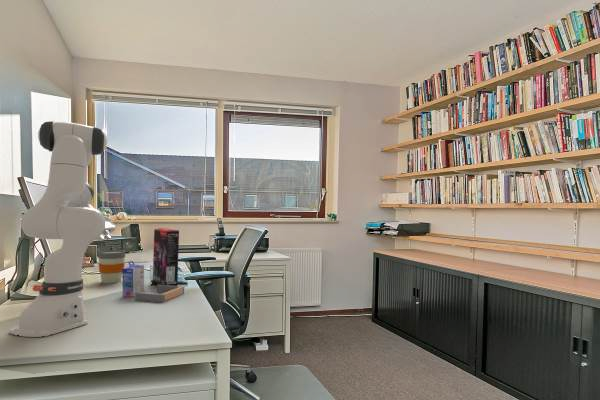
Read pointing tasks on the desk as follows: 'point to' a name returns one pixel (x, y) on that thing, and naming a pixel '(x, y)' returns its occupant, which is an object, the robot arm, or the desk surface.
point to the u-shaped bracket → (167, 295)
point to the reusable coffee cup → (111, 265)
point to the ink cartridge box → (132, 279)
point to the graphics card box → (165, 256)
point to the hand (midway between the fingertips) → (106, 239)
